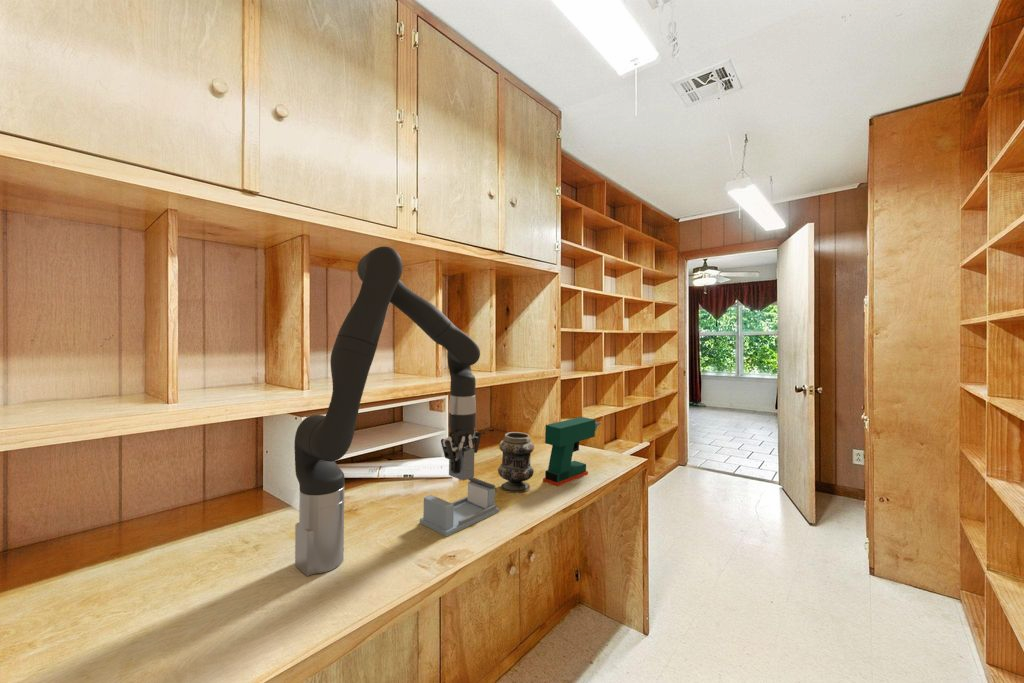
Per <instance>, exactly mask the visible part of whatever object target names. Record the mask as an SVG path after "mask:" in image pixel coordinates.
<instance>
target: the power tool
mask: <svg viewBox="0 0 1024 683" xmlns="http://www.w3.org/2000/svg"><path fill="white" fill-rule="evenodd" d="M601 424H602V422H597V421H596V419H594V418H589V417H585V416H580V417H575V418H571V419H565V420H562V421H557V422H553V423H549V424H548V423H547V424H545V429H544V430H545V434H544V435H545V437H544V444H546V445H550V446H551V452H550V457H549V462H548V467H547V470H545V472H544V474H545V475H544V477H543V478H542V482H544V483H546V484H550V485H551V486H555V487H560V486H562V485H564V484H567V483H570V482H571V481H574V479H575V480H577V479H579V477H580V478H582V477H584V475H585V476H587V475H588V474H589V471H588V470H587V464H586V463H584V462H580V461H577V460H572V458H573V453H575V452H577V451H579V450H580V442H582V441H586V440H588V439H592V438H595V437H596V431H597V429H598V426H600V425H601Z"/></svg>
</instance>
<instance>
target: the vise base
mask: <svg viewBox="0 0 1024 683" xmlns="http://www.w3.org/2000/svg"><path fill="white" fill-rule="evenodd" d="M467 497H468V495H467V496H465V497H463V498H459V499H457V500H455V501H452V502H449V501H446V500H444V499H443V498H440V497H438V496H436V495H433V494H429V495H427V496H424V497H423V515H422V516H423V517H421V518H419V524H421V525H422V526H425V527H427V528H429V529H431V530H432V531H435V532H437V533H438V534H440V535H442V536H444V537H448V536H451V535H453V534H455V533H457V532H459V531H462V530H463V529H466V528H468V527H470V526H472V525H474V524H476V523H478V522H481V521H483V520H485V519H487V518H489V517H491V516H493V515H495V514H497V513H499V510H500V509H499V507H497V505H496V504H495V505H492V506H490V507H488V508H486V509H485V508H482V507H480V506H477V505H475V504H473V503H470V502H468V501H467Z"/></svg>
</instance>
